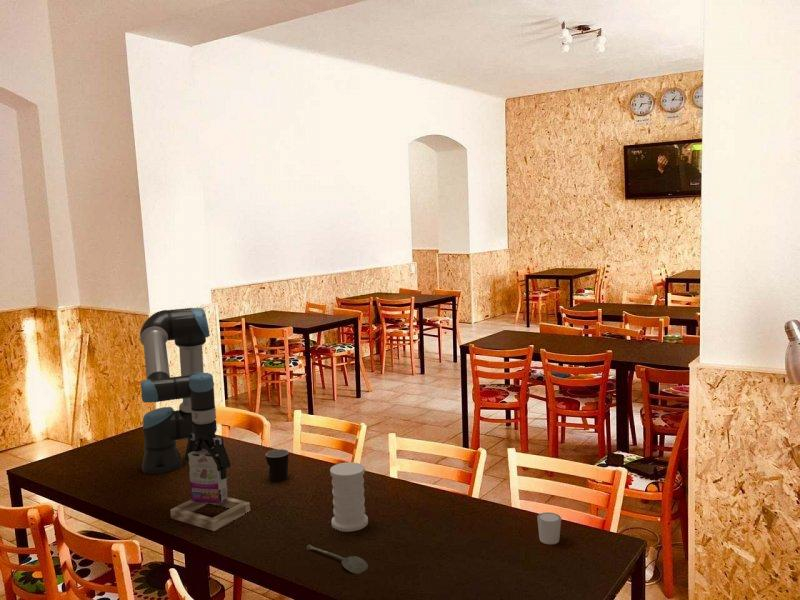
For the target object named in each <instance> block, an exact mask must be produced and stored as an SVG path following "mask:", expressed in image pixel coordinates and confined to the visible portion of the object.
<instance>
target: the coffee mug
mask: <svg viewBox="0 0 800 600" xmlns="http://www.w3.org/2000/svg"><path fill="white" fill-rule="evenodd" d="M264 454H265V460H266V465H267V471H268V476H269V481H270V482H272V483H282V481H283V482H284V481H287V480H288V470H289V469H288V468H289V456H290V455H289V454H290V451H289V450H288V449H283V448H282V449H281V448H277V449H273V450H269V451H267V452H266V453H264ZM286 479H287V480H286Z"/></svg>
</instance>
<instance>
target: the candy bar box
mask: <svg viewBox="0 0 800 600" xmlns="http://www.w3.org/2000/svg"><path fill="white" fill-rule="evenodd" d="M216 457H217V458H219V456H218V454H216ZM187 463H188V473H189V474H188V475H189V476H188V477H189V487H190V500H191V501H194V502H208V503H222V502H223V501H225V500H226V499H227V498H228V497H229V493H228V476H227V477H226V487H225V488H223V489H221V490H218V477H217V470H218V469H219V468H218V466H217V465H216V463H215V461H214V459H213V457H212V455H211V454H210V453H209V452H208V451H207V450H205V449H202V450H199V451H197V452H195V451H192V452H190V453H189V454H188V461H187ZM221 466H222V465H221Z"/></svg>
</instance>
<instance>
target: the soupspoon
mask: <svg viewBox="0 0 800 600" xmlns="http://www.w3.org/2000/svg"><path fill="white" fill-rule="evenodd" d="M306 550H308V551H309V550H310V551H317V552H321V553H323V554H326V555H329V556H332V557H334V558H336V559H338V560H341V565H342V568H344V569H345V570H347V571H349V572H350V573H352V574H355V575H358V574H361V573H363V572H365V571H366V570H367V569H368V568H369V565H368V562H367V561H366V560H365V559H363V558H362V557H359V556H356V555H351V556H350V555H349V556H347V557H343V556H341V555H338V554H336V553H334V552H330V551H328V550H324V549H321V548H318V547H316V546H315V547H314V546H312V544H308V545H307V546H306Z"/></svg>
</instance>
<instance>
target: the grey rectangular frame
mask: <svg viewBox="0 0 800 600" xmlns="http://www.w3.org/2000/svg"><path fill="white" fill-rule="evenodd" d="M206 504H207V505H213V506H216V505H217V507H220V506H221V507H220V508H224V507H225V508H224V509H226V510H225V511H223V512H221V513H220V514H218V515H215V516H213V517H210V516H207V515H203V514H201V513H197V512H195V511H197V510H199V509H201V508H203V507H204V506H207V505H206ZM227 508H229V509H227ZM169 511H170V518H171V519H172V520H176V521H179V522H183V523H185V524H190V525H191V526H195V527H199V528H202V529H206V530H209V531H213V532H215V531H218V530H219V529H221V528H222V527H224V526H226V525H228V524H230V523H232V522H233V520H234V521H235V520H237V519H239V518H241V517H243V516H244V515H246V514H248V513H249V511H250V512H251V502H249V501H245V500H243V499H242V500H241V499H239V498H234V497H230V496H228V498H227V499H226V500H225V501H223V502H222V503H208V502H194V501H191V499H190V500H188V501H185V502H183V503H181V504H178V505H176V506H175V507H173V508H171V509H170V510H169ZM247 512H248V513H247ZM245 513H246V514H245Z"/></svg>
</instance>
